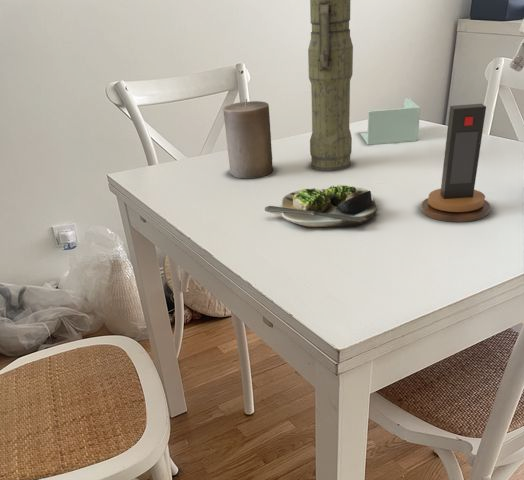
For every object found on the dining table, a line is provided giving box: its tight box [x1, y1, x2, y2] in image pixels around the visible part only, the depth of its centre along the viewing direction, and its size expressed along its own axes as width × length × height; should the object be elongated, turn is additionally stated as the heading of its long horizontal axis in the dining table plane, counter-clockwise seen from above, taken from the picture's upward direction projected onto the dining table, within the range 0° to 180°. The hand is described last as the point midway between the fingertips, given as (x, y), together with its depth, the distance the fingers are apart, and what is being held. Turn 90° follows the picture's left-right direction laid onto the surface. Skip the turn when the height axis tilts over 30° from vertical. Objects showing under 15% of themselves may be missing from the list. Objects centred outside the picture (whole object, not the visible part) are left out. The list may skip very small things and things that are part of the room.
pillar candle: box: [222, 98, 274, 179], centre depth 115 cm, size 10×10×15 cm
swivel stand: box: [420, 197, 491, 223], centre depth 92 cm, size 11×11×1 cm
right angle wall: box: [359, 97, 421, 146], centre depth 134 cm, size 12×12×8 cm
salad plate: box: [264, 184, 378, 228], centre depth 94 cm, size 19×18×5 cm
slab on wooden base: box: [427, 103, 487, 212], centre depth 87 cm, size 9×9×15 cm
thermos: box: [307, 0, 354, 172], centre depth 109 cm, size 9×12×35 cm
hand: (522, 73), depth 81 cm, fingers open, 8 cm apart
